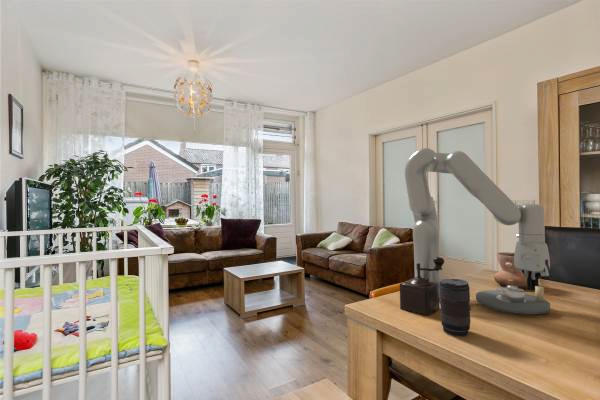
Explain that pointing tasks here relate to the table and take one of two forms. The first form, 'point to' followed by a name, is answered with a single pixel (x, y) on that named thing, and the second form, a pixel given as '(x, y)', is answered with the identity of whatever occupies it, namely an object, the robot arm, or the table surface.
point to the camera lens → (455, 306)
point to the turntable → (528, 307)
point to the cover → (512, 294)
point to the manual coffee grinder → (421, 292)
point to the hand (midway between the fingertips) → (532, 289)
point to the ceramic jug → (509, 271)
